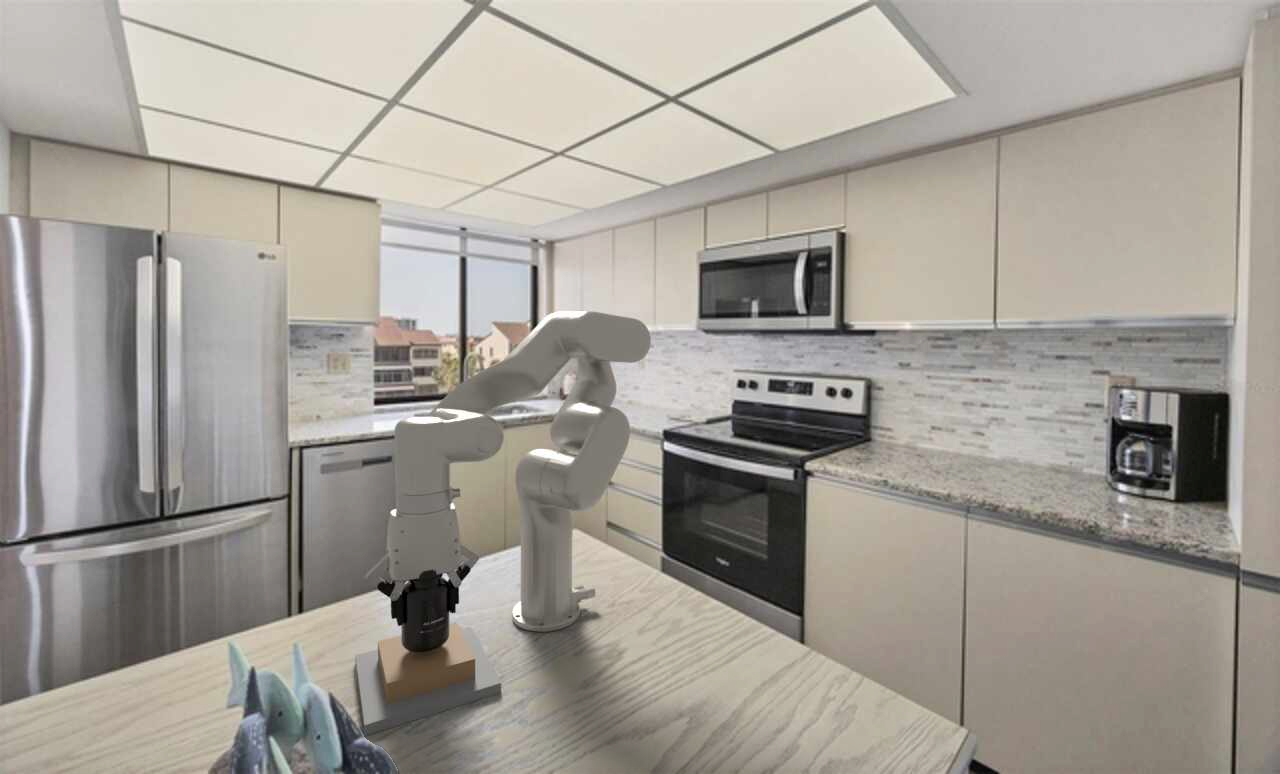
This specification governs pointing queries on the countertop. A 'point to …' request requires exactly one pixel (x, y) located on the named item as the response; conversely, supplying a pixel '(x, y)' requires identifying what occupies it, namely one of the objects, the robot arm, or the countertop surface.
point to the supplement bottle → (425, 612)
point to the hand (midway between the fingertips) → (425, 614)
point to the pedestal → (422, 679)
